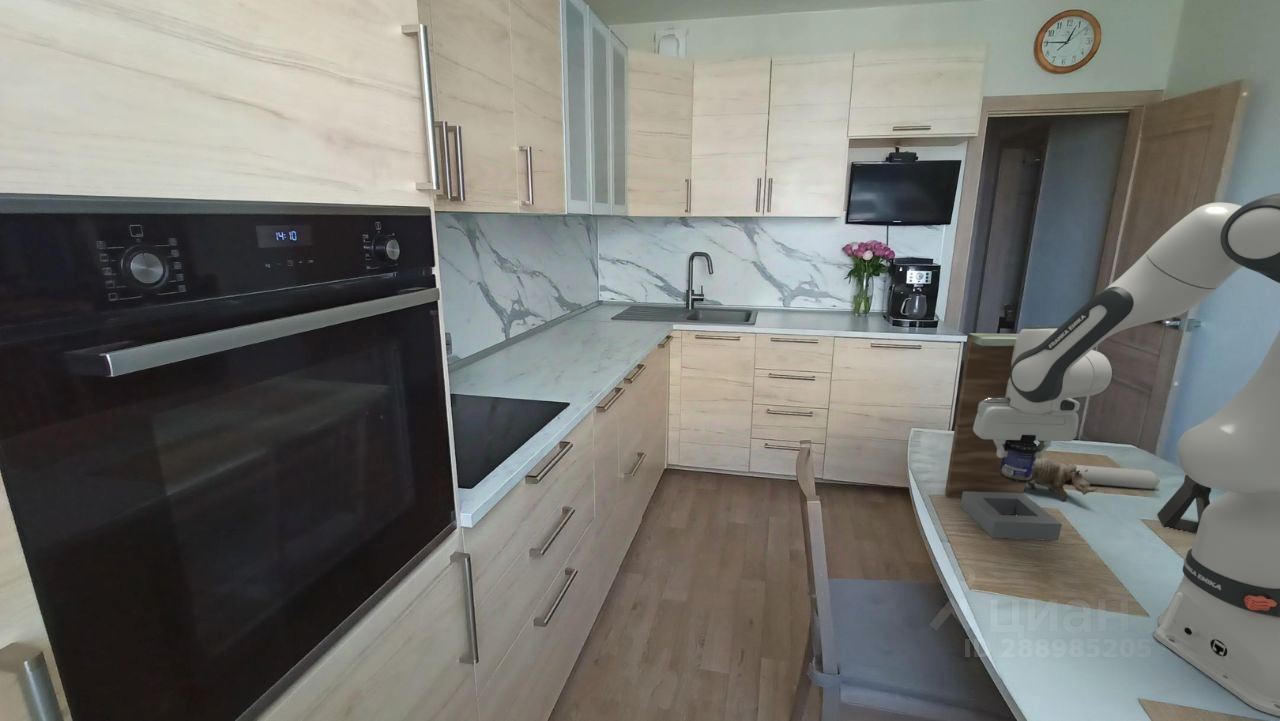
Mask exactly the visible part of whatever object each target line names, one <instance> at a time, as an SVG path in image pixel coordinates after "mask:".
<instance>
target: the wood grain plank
mask: <svg viewBox="0 0 1280 721" xmlns="http://www.w3.org/2000/svg"><path fill="white" fill-rule="evenodd" d="M1018 335H1019V333H976V332H974V333H971V332H969V333H968V339H967V344H966V352H965V356H964V358H965V359H964V365H963V371H962V377H961V386H960V391H959V397H958V403H957V404H958V405H957V411H956V418H955V425H954V429H953V430H954V431H953V436H952V444H951V451H950V458H949V464H948V471H947V477H946V485H945V491H944V495H945V497H947V498H953V499H954V498H957V499H962V494H963V491H969V492H1001V493H1023V494H1024V492H1025V486H1026V484H1025V483H1020V482H1014V481H1010V480H1008V479H1006V478H1004V477H1002V476H1001V475H1000V472H999V471H1000V466H1001V461H1002V458H999V457H998V456H997V454H996V453H997V447H996V445H995V443H994V441H993V439H981V438H980V437H978V436H977V435H976V434H975V433H974V431H973V426H974V422H975V419H976V416H977V413H978V405H979V403H980V402H981V401H983V400H985V399H986V398H989V397H992V398H1005V396H1006V390H1007V384H1008V380H1009V378H1010V373H1011V368H1012V366H1011V361H1012V355H1013V350H1014V346H1015V343H1016V340H1017V337H1018ZM985 402H986V401H985ZM1005 441H1006V440H1005ZM1002 445H1003V448H1004V446H1005V444H1002Z"/></svg>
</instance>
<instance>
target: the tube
mask: <svg viewBox="0 0 1280 721" xmlns="http://www.w3.org/2000/svg"><path fill="white" fill-rule="evenodd" d="M1074 465H1075V466H1076V467H1077V469H1076V471H1078V470H1080V472H1079V473H1081V474H1082V476H1083V478H1084V479H1085V481H1086V482H1088V483H1089V484H1090V486H1091V485H1094V486H1095V485H1096V486H1104V487H1105V486H1107V487H1119V488H1131V489H1142V490H1143V489H1147V490H1152V489H1155V488H1156V487H1158V486H1159V484H1160V480H1161V479H1159V477H1158V475H1157V474H1156V473H1155V472H1154V471H1151V470H1148V469H1135V468H1134V469H1133V468H1124V467H1123V468H1122V467H1109V466H1108V467H1107V466H1095V465H1083V464H1082V465H1081V464H1074ZM1087 469H1088V471H1087V472H1085V470H1087Z"/></svg>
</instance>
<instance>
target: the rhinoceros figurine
mask: <svg viewBox="0 0 1280 721" xmlns="http://www.w3.org/2000/svg"><path fill="white" fill-rule="evenodd" d="M1075 465H1076V464H1073V463H1061V462H1057V461H1054V460H1052V459H1050V458H1046V457H1042V459H1036V460H1035V465H1034V469H1033V474H1032V479H1031V481H1030V482H1027V483H1025V485H1026V484H1027V485H1028V487H1029V488H1030V489H1032V490H1034V489H1037V487H1036V485H1038V486H1040V487H1043V488H1044V487H1045V488H1047V489H1048V491H1050V492H1053V493H1057V494H1060V495H1061V496H1062V497H1061V498H1062V499H1061V501H1062V503H1067V502H1068V500H1067V499H1068V493H1067V491H1066V490H1065V488H1064V486H1065V485H1068V486H1069V485H1071V486H1073V487H1074V488H1075V490H1076V491H1077V492H1080V493H1082V495H1083V496H1084V495H1086V494H1088V493H1093V492H1094V493H1095V491H1097V490H1098V489H1097V488H1091V484H1089V483H1088V482H1086V481H1085V479H1084V478H1083V476H1082V474H1081V473H1079V472H1080V470H1078V471H1076V469H1077V467H1076V466H1075ZM1087 471H1088V469H1087V470H1085V472H1087Z"/></svg>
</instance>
